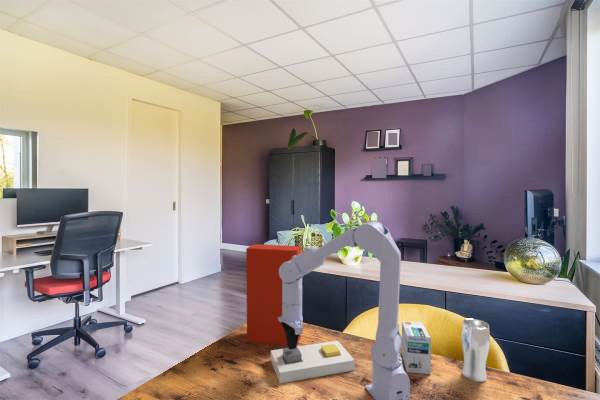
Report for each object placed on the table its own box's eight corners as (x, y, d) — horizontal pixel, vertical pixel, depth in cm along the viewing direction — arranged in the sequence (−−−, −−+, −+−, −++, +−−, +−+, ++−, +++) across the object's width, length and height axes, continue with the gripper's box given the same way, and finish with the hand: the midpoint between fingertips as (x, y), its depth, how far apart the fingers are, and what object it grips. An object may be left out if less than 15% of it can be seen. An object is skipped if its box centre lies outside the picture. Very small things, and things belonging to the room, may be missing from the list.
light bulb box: (431, 375, 90) (432, 337, 89) (406, 373, 91) (407, 335, 91) (422, 355, 100) (423, 321, 100) (400, 353, 102) (401, 320, 101)
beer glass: (492, 385, 86) (494, 330, 85) (464, 381, 87) (466, 327, 86) (483, 370, 92) (484, 319, 92) (457, 367, 94) (458, 317, 93)
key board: (354, 370, 92) (354, 360, 92) (279, 383, 86) (279, 372, 86) (337, 349, 104) (337, 340, 103) (270, 360, 97) (270, 350, 97)
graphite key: (301, 364, 91) (301, 354, 91) (286, 366, 90) (286, 356, 90) (297, 356, 96) (297, 346, 95) (282, 358, 94) (282, 348, 94)
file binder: (296, 347, 105) (296, 250, 104) (246, 341, 109) (246, 248, 107) (301, 335, 113) (301, 245, 111) (254, 331, 116) (254, 243, 115)
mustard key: (340, 360, 95) (340, 350, 95) (326, 363, 94) (326, 353, 93) (334, 353, 99) (334, 343, 99) (320, 355, 98) (320, 345, 98)
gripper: (273, 294, 98) (273, 338, 98) (284, 312, 84) (284, 363, 85) (295, 292, 100) (295, 335, 100) (310, 309, 86) (309, 359, 87)
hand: (291, 347), depth 93 cm, fingers closed
